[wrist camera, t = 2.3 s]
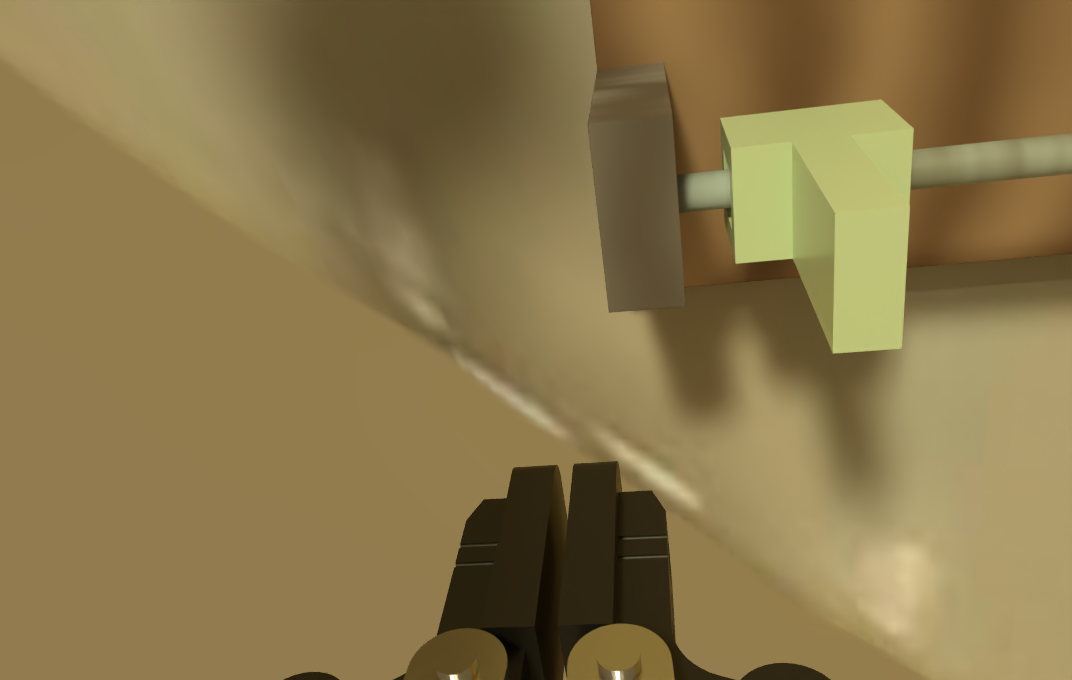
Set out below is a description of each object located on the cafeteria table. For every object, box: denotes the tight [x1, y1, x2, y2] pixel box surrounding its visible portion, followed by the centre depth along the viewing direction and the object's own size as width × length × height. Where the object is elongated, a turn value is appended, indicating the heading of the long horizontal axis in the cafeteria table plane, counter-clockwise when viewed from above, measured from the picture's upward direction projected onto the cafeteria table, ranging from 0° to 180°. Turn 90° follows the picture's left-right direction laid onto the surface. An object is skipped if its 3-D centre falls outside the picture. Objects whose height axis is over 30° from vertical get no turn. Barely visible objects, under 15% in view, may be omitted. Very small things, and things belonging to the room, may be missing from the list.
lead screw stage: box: [588, 0, 1072, 313], centre depth 29 cm, size 25×12×10 cm, turn 98°
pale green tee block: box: [720, 100, 914, 354], centre depth 25 cm, size 5×4×10 cm
